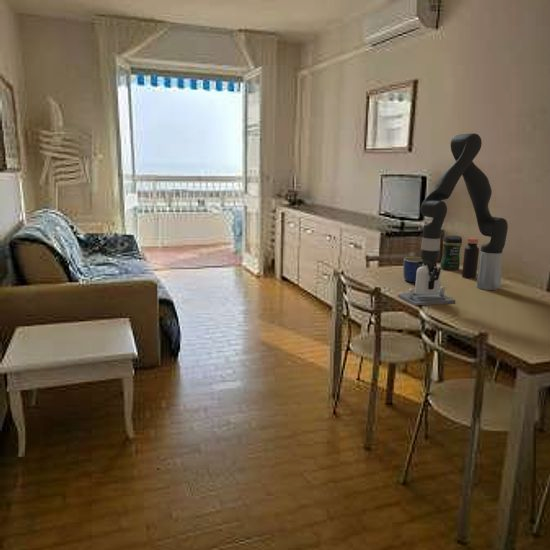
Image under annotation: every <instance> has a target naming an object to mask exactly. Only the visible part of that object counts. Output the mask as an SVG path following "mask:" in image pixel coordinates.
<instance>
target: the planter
mask: <svg viewBox="0 0 550 550" xmlns="http://www.w3.org/2000/svg"><path fill="white" fill-rule="evenodd" d="M420 261H422V259H421V258H420V256H409V257H404V258H403V278H404V280H405V281H406V282H408V281H409V282H408V283H413V282H414V283H416V272H417V269H418V262H420ZM421 267H422V266H421Z"/></svg>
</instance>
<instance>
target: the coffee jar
mask: <svg viewBox="0 0 550 550" xmlns="http://www.w3.org/2000/svg"><path fill="white" fill-rule="evenodd" d="M442 244H443V250H442V257H441V260H440V266H439V267H441V270H446V271H457V270H460V267H461V266H460V263H461V262H460V258H461V256H460V254H461V253H460V252H461V251H460V250H461V247H462V245H463V237H462V236H460V235H444V237H443V239H442Z"/></svg>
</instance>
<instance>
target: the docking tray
mask: <svg viewBox="0 0 550 550" xmlns="http://www.w3.org/2000/svg"><path fill="white" fill-rule="evenodd" d="M397 298H399V299H401V300H403V301H405V302H407V303H409V304H411V305H412V306H414V307H419V306H418V305H422V306H432V305H443V304H444V305H445V304H454V303H456V299H454V298H452V297H450V296H448V295H446V294H445V285H444V286H442V285H439V294H430V295H417V294H415V288H408V292H407V293H398V294H397Z"/></svg>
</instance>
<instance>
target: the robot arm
mask: <svg viewBox="0 0 550 550" xmlns="http://www.w3.org/2000/svg"><path fill="white" fill-rule="evenodd" d="M482 144H483V143H482V138H481V136H480V134H478V133H476V132H475V133H474V132H473V133H463V134H457V135H454V136H453V137H452V138H451V141H450V151H451V154H452V156H453V158H454V161H455V162H454V163H452V165H450V167H448V169H445V170H446V171H444V172H443V174H442V175H441V176H440V177H439V180H438V181H437V183H436V185H435V186H434V188H433V189H432V191H431V192H430V193H429V194H428V195H427V196H426V197H425V198H424V200H423V201H422V203H421V205H420V214H421V215H422V216H423V217H426V218H432V221H431V222H427V223H425V224H423V228H422V238H421V243H420V244H421V246H420V256H419V257H420V258H421V259H422V261H420V262H418V268H419V267H421V266H426V268H427V270H428V276H429V283H428V289H430V290H431V289H434V281H435V280H438V278H439V274H440V271H441V270H442V268H441V267H440V266H438V264H437V262H438V261H439V259H440V252H441V232H442V227H443V224H444V221H445V218H446V216H447V214H448V207H447V204H446V203H445V201H443V200H448V199H450V197H451V195H452V193H453V191H454V190H455V188H456V186H457V184H458V182H459V181H460V179H461V177H462V178H463V181H464V184H465V186H466V191H467V193H468V196H469V198H470V201H471V203H472V206H473V210H474V213H475V217H476V221H477V227H478V230H479V232H480V234H482V236H485V237H489V238H490V241H489V242H488V243H484V244H482V245H481V246H480V251H479V260H478V264H479V265H478V270H477V280H476V288H478V289H481V290H486V291H496V290H499V289H501V283H502V282H501V281H502V273H503V268H501V267H502V266H501V265H502V258H503V250H504V248H505V245H506V241H507V240H506V239H507V236H508V229H509V225H508V221H507V220H506V219H505V217H497V216H493V215H492V214H491V213H490V209H489V203H490V200H491V199H492V194H493V193H492V191H493V190H492V186H491V183H490V181H489V178H488V176H487V175H486V174H485V172H483V171H482V170H481V169H480V168H479V167H478V166H477V165H476V164H475V163H474V160H475V158H476V157H477V156H478V154H479V152H480V150H481V149H482ZM430 272H433V273H430ZM441 272H442V271H441ZM431 275H432V278H431ZM435 276H436V277H435Z"/></svg>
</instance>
